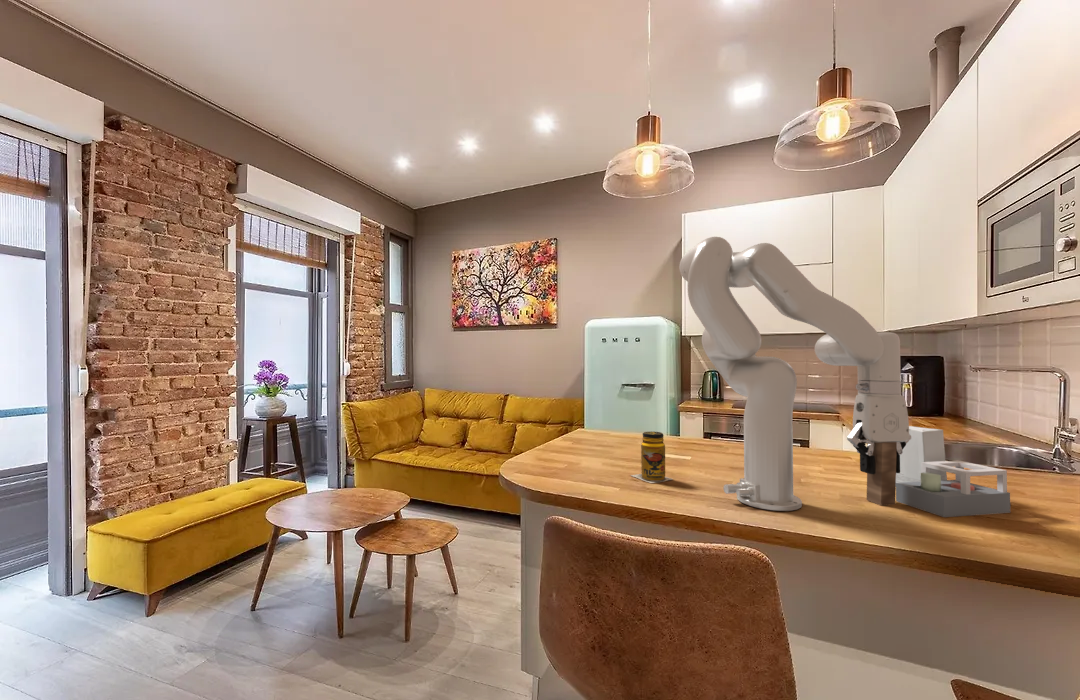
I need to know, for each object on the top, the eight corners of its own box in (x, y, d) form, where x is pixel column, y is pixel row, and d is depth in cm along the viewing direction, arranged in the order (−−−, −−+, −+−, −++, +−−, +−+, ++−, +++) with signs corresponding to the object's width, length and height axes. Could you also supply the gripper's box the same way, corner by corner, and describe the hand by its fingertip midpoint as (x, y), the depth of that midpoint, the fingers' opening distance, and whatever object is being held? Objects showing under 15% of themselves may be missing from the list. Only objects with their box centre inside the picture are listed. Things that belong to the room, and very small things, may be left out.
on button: (932, 494, 92) (931, 476, 92) (916, 490, 95) (916, 472, 95) (945, 494, 93) (944, 476, 93) (929, 489, 96) (929, 472, 96)
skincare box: (948, 495, 103) (947, 430, 103) (925, 496, 102) (924, 430, 102) (913, 485, 111) (912, 424, 111) (891, 486, 110) (890, 425, 110)
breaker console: (944, 517, 88) (943, 474, 89) (896, 501, 98) (895, 462, 98) (1010, 512, 91) (1009, 471, 91) (957, 497, 101) (956, 460, 101)
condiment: (651, 483, 112) (651, 435, 112) (630, 476, 120) (629, 430, 120) (673, 480, 116) (673, 433, 116) (651, 472, 123) (650, 428, 123)
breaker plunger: (965, 503, 93) (964, 487, 93) (946, 498, 97) (946, 483, 97) (979, 502, 94) (979, 486, 94) (960, 497, 97) (960, 482, 97)
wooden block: (881, 505, 96) (882, 440, 95) (866, 499, 99) (867, 436, 99) (895, 504, 96) (896, 439, 96) (880, 498, 100) (881, 436, 99)
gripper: (859, 390, 93) (860, 478, 93) (929, 389, 96) (930, 475, 95) (830, 388, 100) (831, 469, 100) (896, 387, 103) (897, 466, 103)
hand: (879, 471), depth 98 cm, fingers open, 5 cm apart
